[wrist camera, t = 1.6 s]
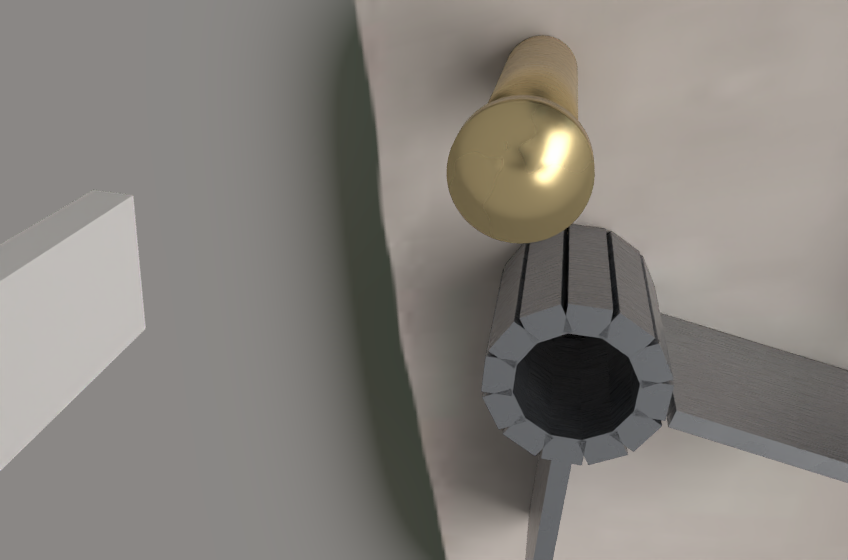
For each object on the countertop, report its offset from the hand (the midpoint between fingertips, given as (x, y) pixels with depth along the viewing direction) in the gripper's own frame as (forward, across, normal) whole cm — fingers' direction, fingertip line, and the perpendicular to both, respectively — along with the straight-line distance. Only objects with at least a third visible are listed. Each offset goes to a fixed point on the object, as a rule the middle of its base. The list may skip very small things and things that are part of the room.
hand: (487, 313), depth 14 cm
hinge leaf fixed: (+22, +3, -15) cm, 26 cm away
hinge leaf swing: (+22, +12, -11) cm, 27 cm away
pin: (+22, 0, 0) cm, 22 cm away
